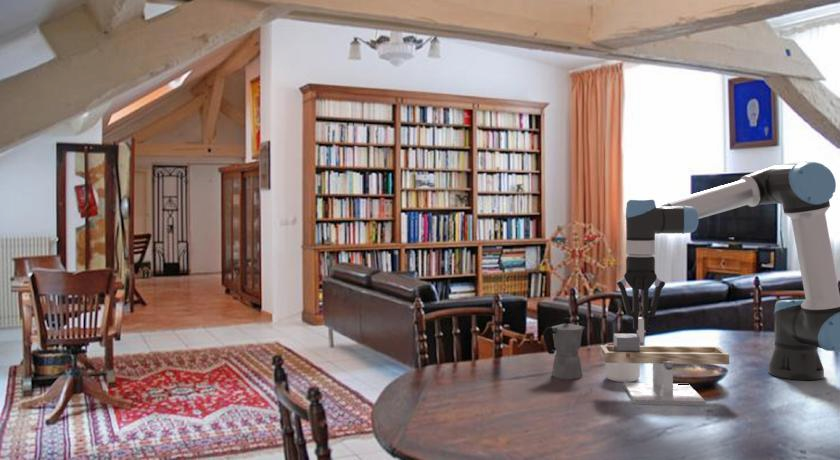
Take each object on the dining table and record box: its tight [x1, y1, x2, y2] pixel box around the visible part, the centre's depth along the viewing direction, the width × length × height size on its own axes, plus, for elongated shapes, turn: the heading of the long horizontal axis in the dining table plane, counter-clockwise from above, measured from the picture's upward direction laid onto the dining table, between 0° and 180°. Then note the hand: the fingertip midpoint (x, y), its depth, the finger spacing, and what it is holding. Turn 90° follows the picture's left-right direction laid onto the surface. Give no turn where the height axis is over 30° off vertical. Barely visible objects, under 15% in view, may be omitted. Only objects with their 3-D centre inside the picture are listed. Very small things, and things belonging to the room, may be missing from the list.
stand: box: [623, 360, 707, 407], centre depth 196 cm, size 18×18×11 cm
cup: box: [604, 342, 641, 383], centre depth 215 cm, size 10×10×10 cm
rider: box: [613, 333, 641, 352], centre depth 197 cm, size 6×6×5 cm
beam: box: [599, 344, 730, 365], centre depth 196 cm, size 32×11×4 cm, turn 83°
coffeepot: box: [542, 317, 586, 380], centre depth 219 cm, size 15×9×18 cm, turn 116°
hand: (640, 341), depth 196 cm, fingers closed
